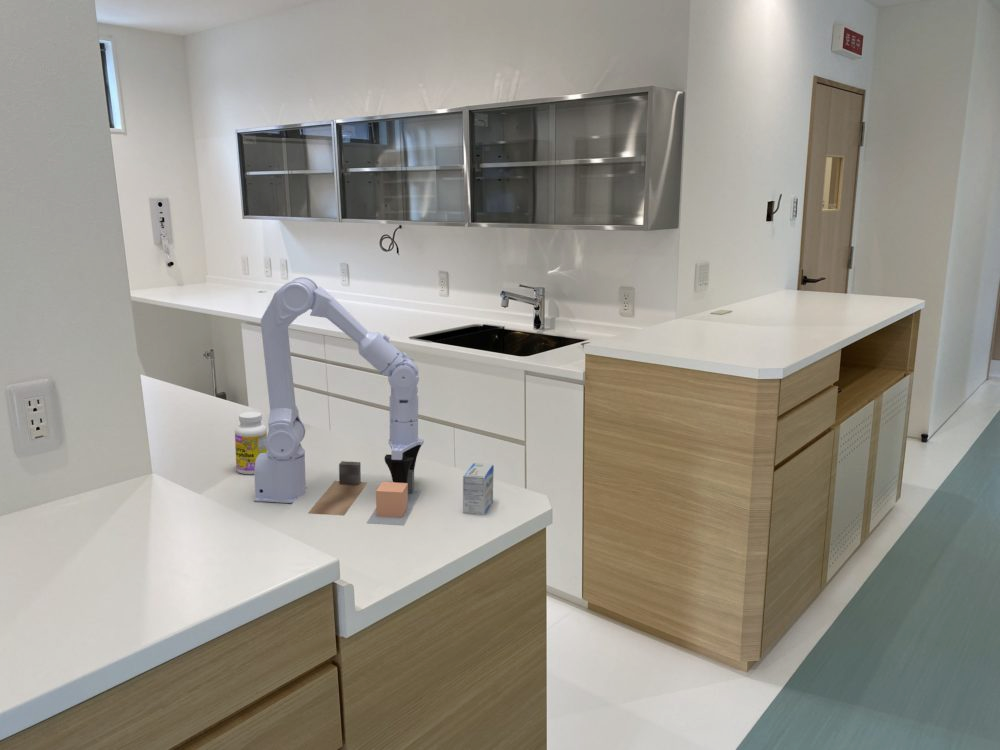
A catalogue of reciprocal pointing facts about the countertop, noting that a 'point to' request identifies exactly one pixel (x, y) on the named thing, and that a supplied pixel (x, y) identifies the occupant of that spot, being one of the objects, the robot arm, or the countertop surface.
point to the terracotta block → (392, 499)
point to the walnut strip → (341, 491)
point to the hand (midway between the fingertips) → (403, 482)
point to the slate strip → (411, 501)
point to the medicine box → (478, 489)
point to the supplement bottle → (249, 441)
